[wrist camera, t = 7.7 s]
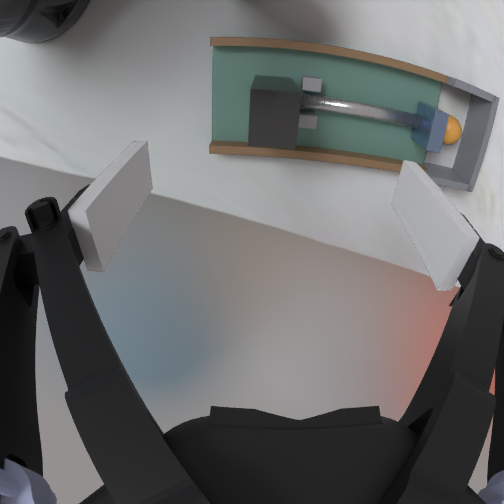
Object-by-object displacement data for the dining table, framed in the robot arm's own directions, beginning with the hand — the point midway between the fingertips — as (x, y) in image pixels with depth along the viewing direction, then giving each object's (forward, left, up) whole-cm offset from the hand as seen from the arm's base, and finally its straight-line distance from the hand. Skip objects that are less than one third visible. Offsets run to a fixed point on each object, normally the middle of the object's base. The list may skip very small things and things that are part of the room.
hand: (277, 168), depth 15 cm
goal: (0, +24, -23) cm, 34 cm away
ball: (0, +23, -21) cm, 31 cm away
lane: (0, +7, -23) cm, 24 cm away
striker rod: (0, +9, -22) cm, 24 cm away
